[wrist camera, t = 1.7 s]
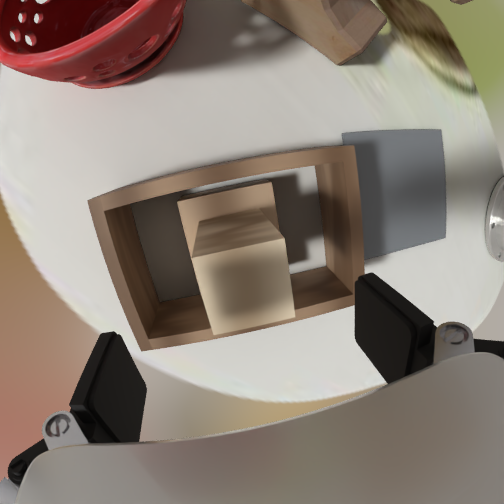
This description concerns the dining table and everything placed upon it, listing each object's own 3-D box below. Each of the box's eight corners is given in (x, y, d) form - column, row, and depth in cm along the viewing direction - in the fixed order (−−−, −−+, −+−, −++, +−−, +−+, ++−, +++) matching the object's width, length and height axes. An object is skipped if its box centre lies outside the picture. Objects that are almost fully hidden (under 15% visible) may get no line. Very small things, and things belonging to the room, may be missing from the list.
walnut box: (322, 146, 23) (354, 145, 18) (336, 273, 27) (364, 301, 22) (115, 189, 22) (87, 200, 17) (153, 313, 26) (141, 351, 21)
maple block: (259, 208, 21) (284, 238, 14) (268, 264, 23) (295, 317, 15) (199, 221, 21) (191, 257, 14) (212, 276, 23) (213, 335, 15)
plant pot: (75, 126, 20) (-13, 115, 9) (54, 19, 15) (-10, -26, 4) (216, 66, 20) (220, -5, 9) (178, -36, 16) (166, -115, 4)
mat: (437, 129, 24) (441, 129, 23) (442, 236, 28) (445, 237, 27) (341, 133, 23) (344, 132, 23) (354, 259, 27) (357, 261, 27)
